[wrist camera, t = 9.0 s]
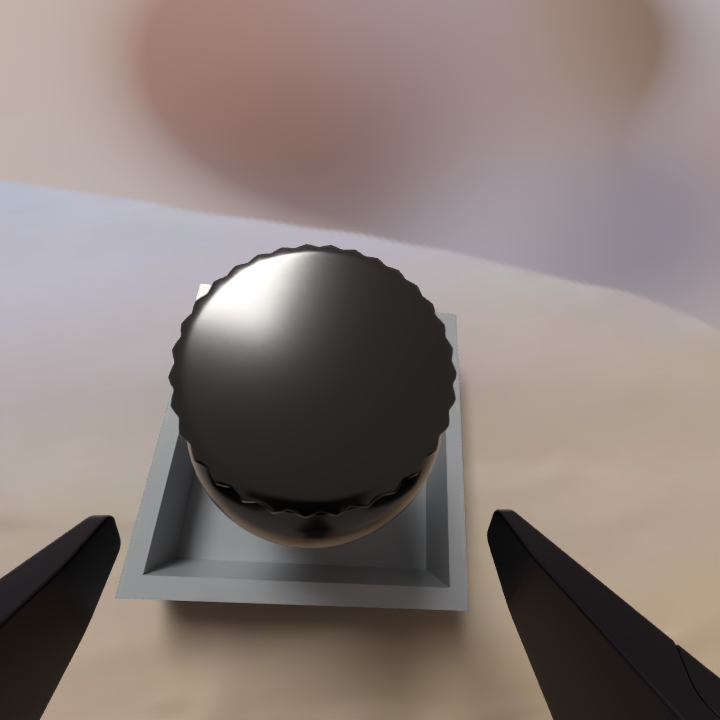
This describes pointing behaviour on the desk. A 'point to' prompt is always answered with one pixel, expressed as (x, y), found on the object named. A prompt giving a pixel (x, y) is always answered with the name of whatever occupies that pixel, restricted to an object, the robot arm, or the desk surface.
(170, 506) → the box
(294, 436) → the supplement bottle
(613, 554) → the desk surface
